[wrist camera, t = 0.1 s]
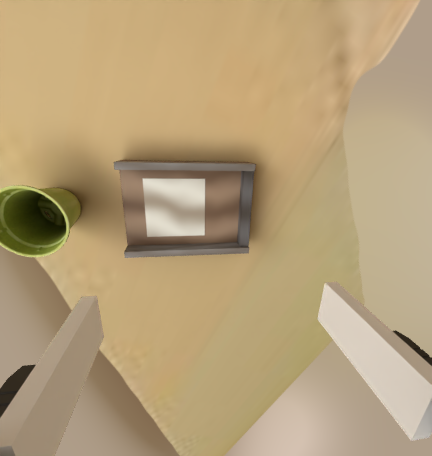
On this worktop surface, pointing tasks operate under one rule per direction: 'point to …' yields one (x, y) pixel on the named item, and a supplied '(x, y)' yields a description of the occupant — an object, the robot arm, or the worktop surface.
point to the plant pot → (36, 219)
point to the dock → (186, 207)
